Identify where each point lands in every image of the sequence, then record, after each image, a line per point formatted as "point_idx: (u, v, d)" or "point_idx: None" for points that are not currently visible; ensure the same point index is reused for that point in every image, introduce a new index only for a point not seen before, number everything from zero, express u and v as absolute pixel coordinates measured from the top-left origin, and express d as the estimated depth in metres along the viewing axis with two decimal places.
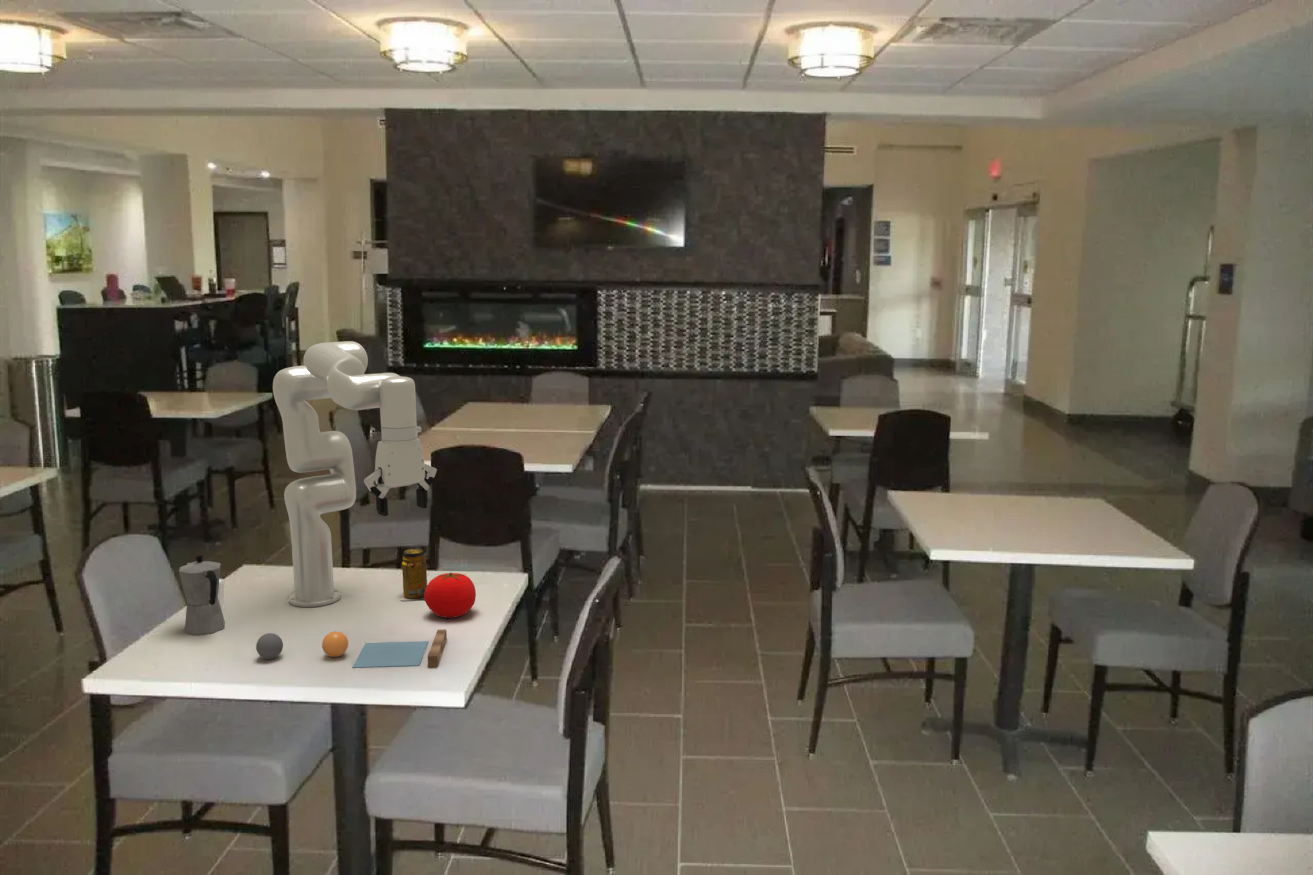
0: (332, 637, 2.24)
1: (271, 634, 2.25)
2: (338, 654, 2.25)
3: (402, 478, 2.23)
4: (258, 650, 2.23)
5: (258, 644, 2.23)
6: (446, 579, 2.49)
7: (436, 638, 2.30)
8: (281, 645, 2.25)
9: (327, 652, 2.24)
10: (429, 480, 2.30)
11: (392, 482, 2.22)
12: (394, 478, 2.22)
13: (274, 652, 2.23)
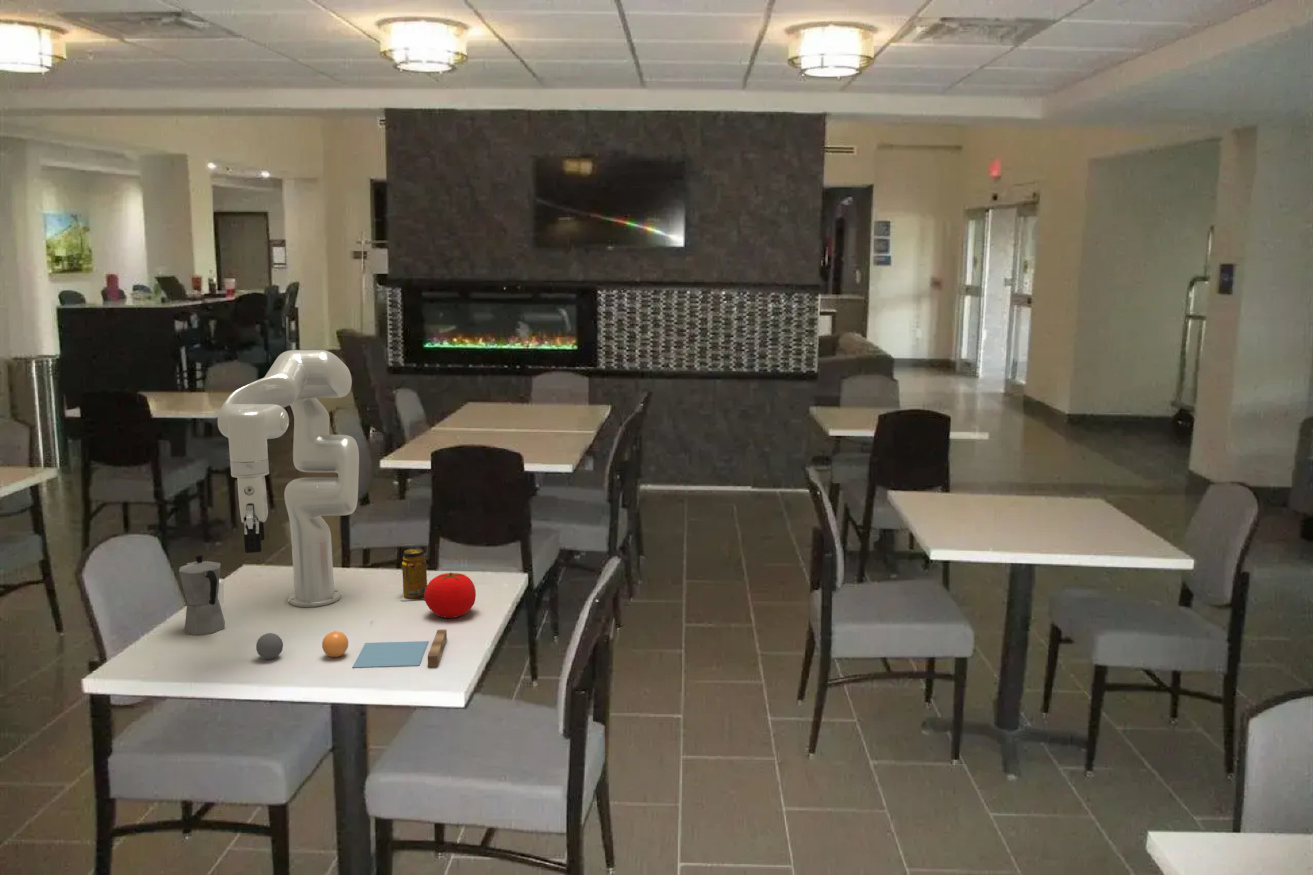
0: (332, 637, 2.24)
1: (271, 634, 2.25)
2: (338, 654, 2.25)
3: None
4: (258, 650, 2.23)
5: (258, 644, 2.23)
6: (446, 579, 2.49)
7: (436, 638, 2.30)
8: (281, 645, 2.25)
9: (327, 652, 2.24)
10: None
11: None
12: None
13: (274, 652, 2.23)
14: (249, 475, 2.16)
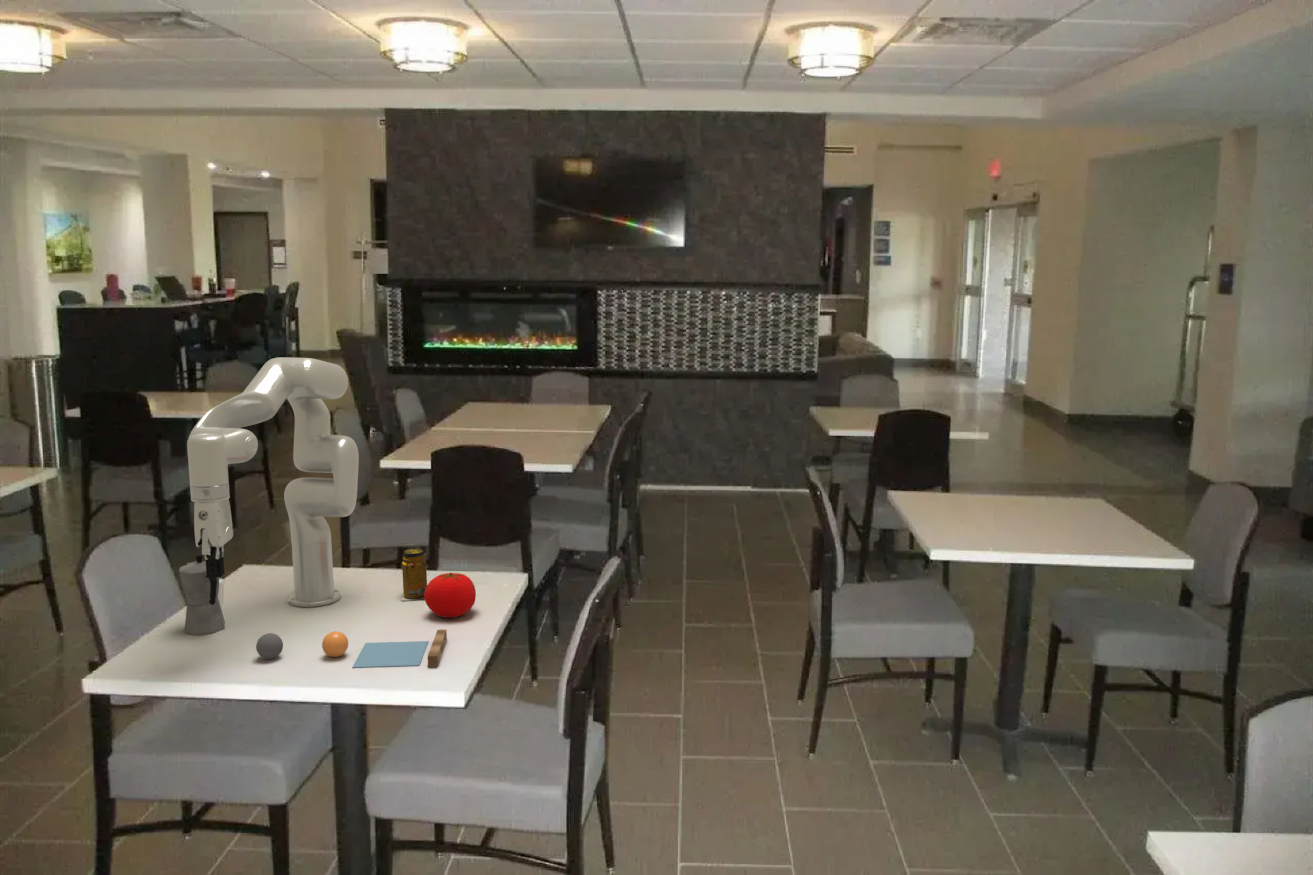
0: (332, 637, 2.24)
1: (271, 634, 2.25)
2: (338, 654, 2.25)
3: None
4: (258, 650, 2.23)
5: (258, 644, 2.23)
6: (446, 579, 2.49)
7: (436, 638, 2.30)
8: (281, 645, 2.25)
9: (327, 652, 2.24)
10: None
11: None
12: None
13: (274, 652, 2.23)
14: (204, 500, 2.15)
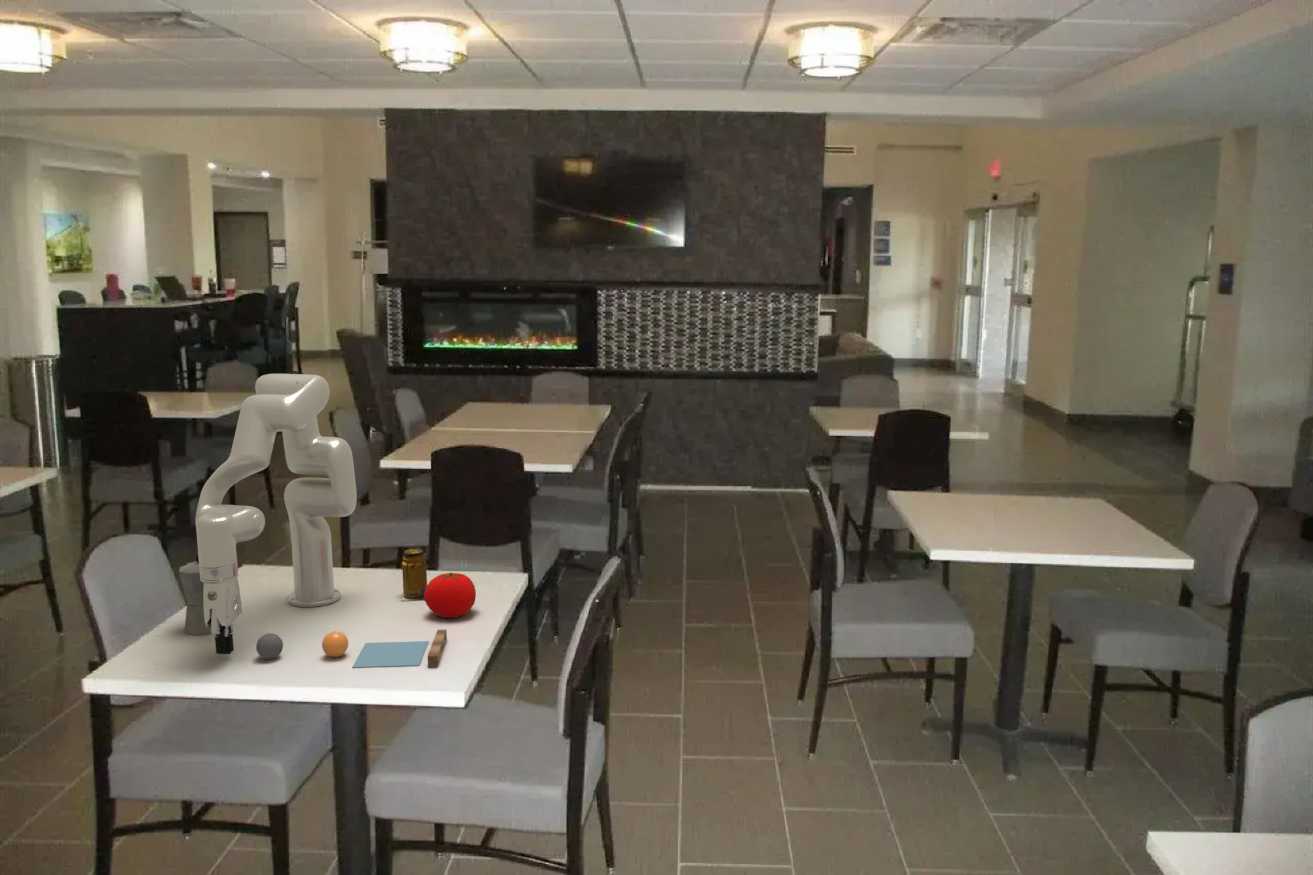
0: (332, 637, 2.24)
1: (271, 634, 2.25)
2: (338, 654, 2.25)
3: None
4: (258, 650, 2.23)
5: (258, 644, 2.23)
6: (446, 579, 2.49)
7: (436, 638, 2.30)
8: (281, 645, 2.25)
9: (327, 652, 2.24)
10: None
11: None
12: None
13: (274, 652, 2.23)
14: (213, 580, 2.18)
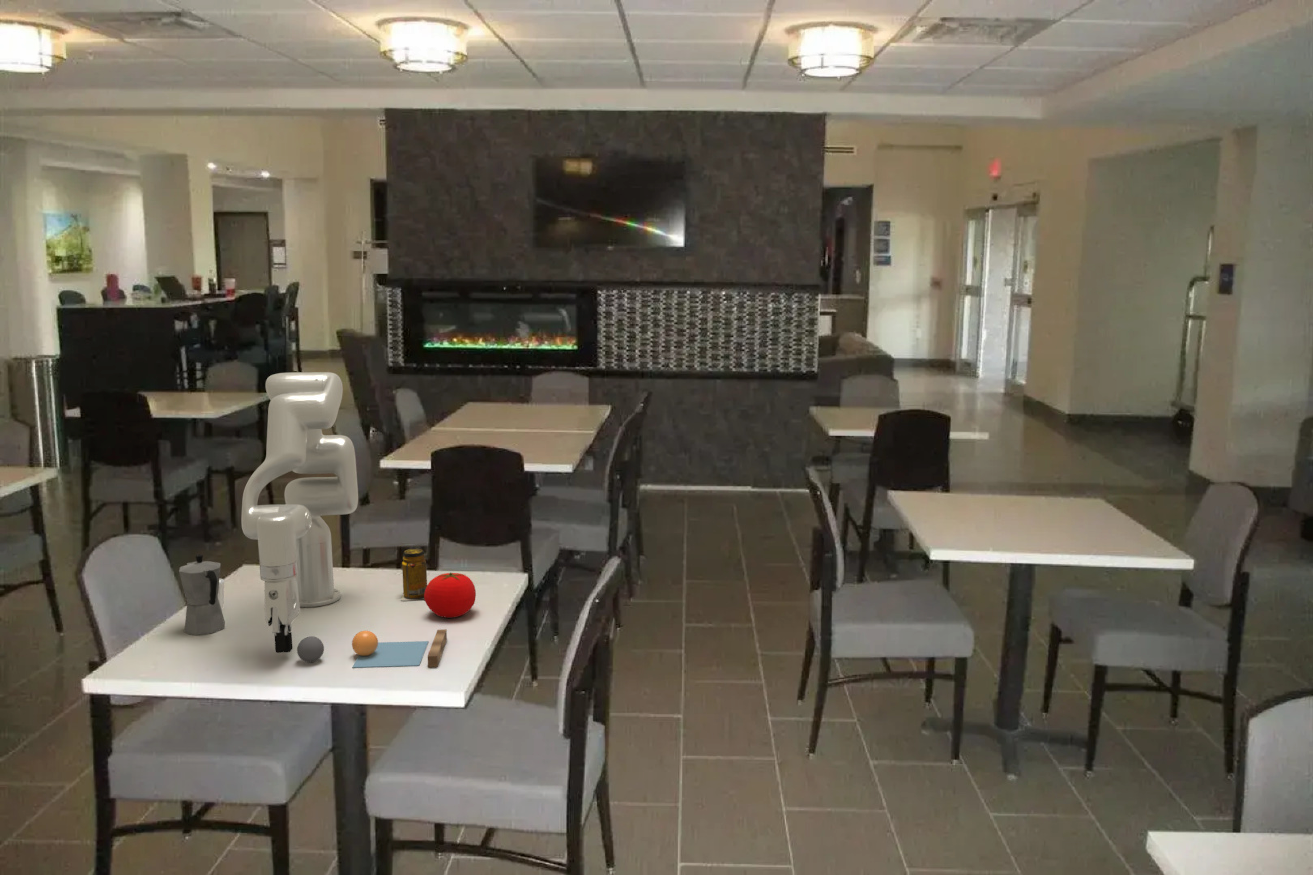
0: (371, 652, 2.25)
1: None
2: (354, 645, 2.24)
3: None
4: (313, 657, 2.21)
5: (315, 660, 2.22)
6: (446, 579, 2.49)
7: (436, 638, 2.30)
8: None
9: (362, 640, 2.24)
10: None
11: None
12: None
13: (298, 653, 2.21)
14: (274, 579, 2.19)
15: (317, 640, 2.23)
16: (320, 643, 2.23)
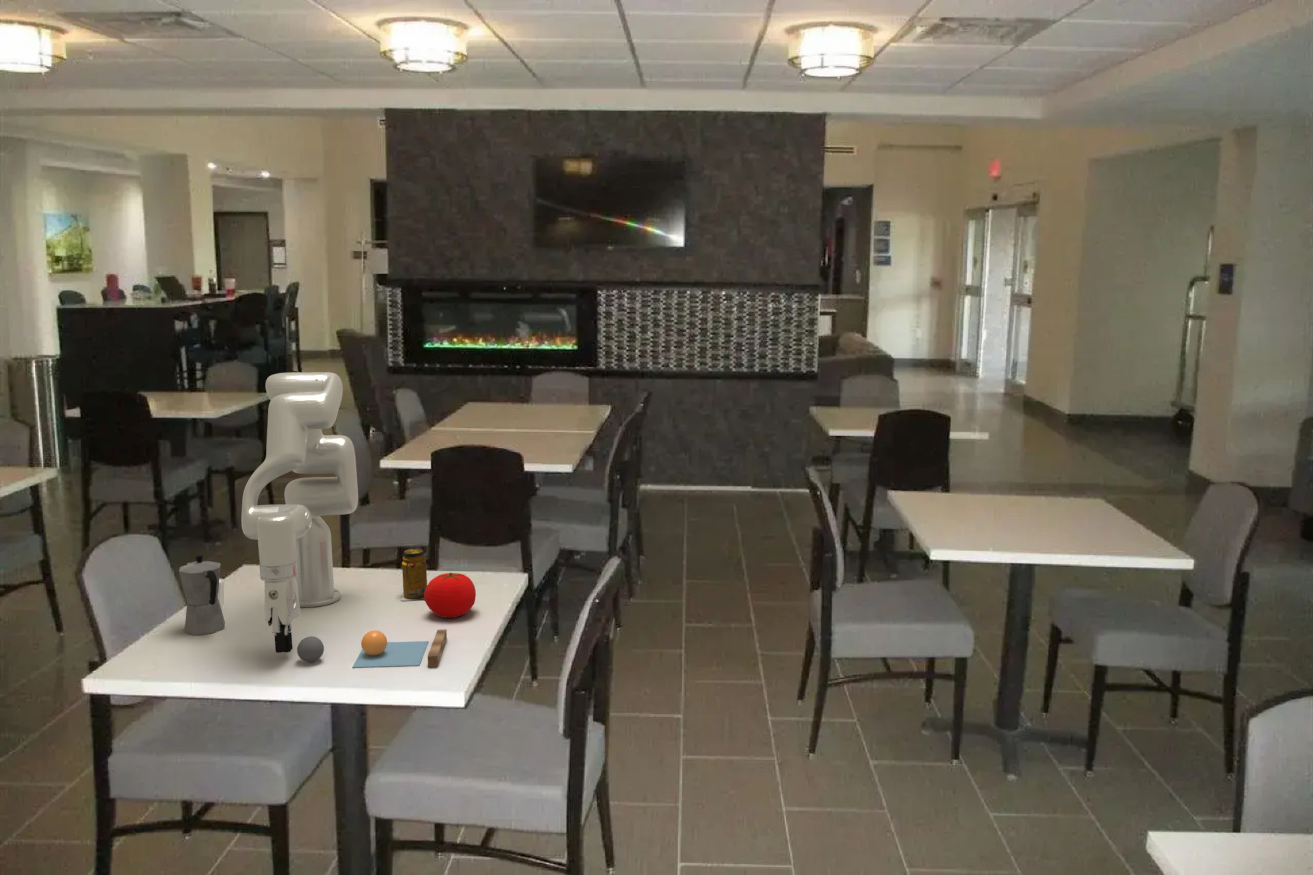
0: (374, 655, 2.25)
1: None
2: (366, 639, 2.24)
3: None
4: (313, 657, 2.21)
5: (315, 660, 2.22)
6: (446, 579, 2.49)
7: (436, 638, 2.30)
8: None
9: (376, 641, 2.24)
10: None
11: None
12: None
13: (298, 653, 2.21)
14: (274, 579, 2.19)
15: (317, 640, 2.23)
16: (320, 643, 2.23)
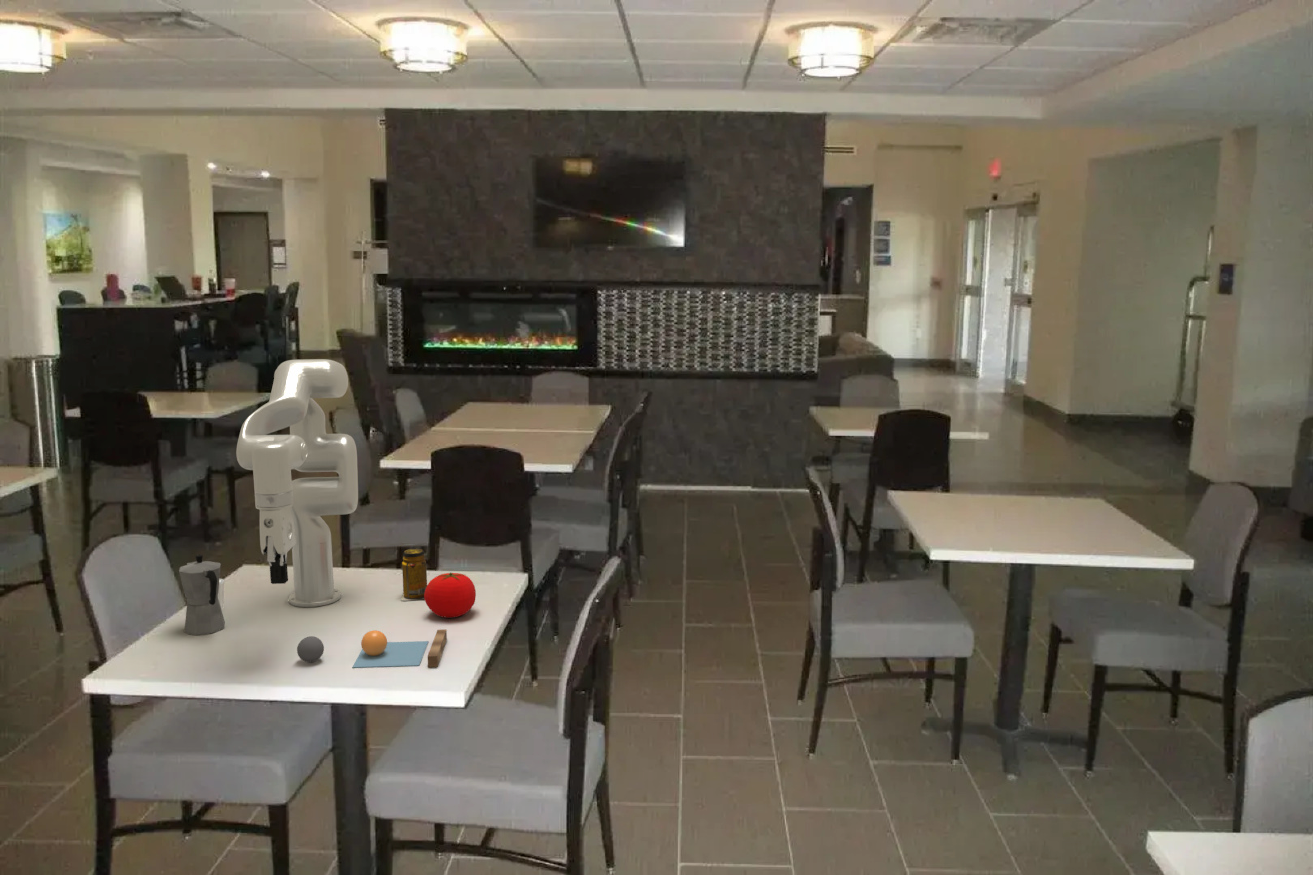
0: (374, 655, 2.25)
1: None
2: (366, 639, 2.24)
3: None
4: (313, 657, 2.21)
5: (315, 660, 2.22)
6: (446, 579, 2.49)
7: (436, 638, 2.30)
8: None
9: (376, 641, 2.24)
10: None
11: None
12: None
13: (298, 653, 2.21)
14: (270, 507, 2.16)
15: (317, 640, 2.23)
16: (320, 643, 2.23)
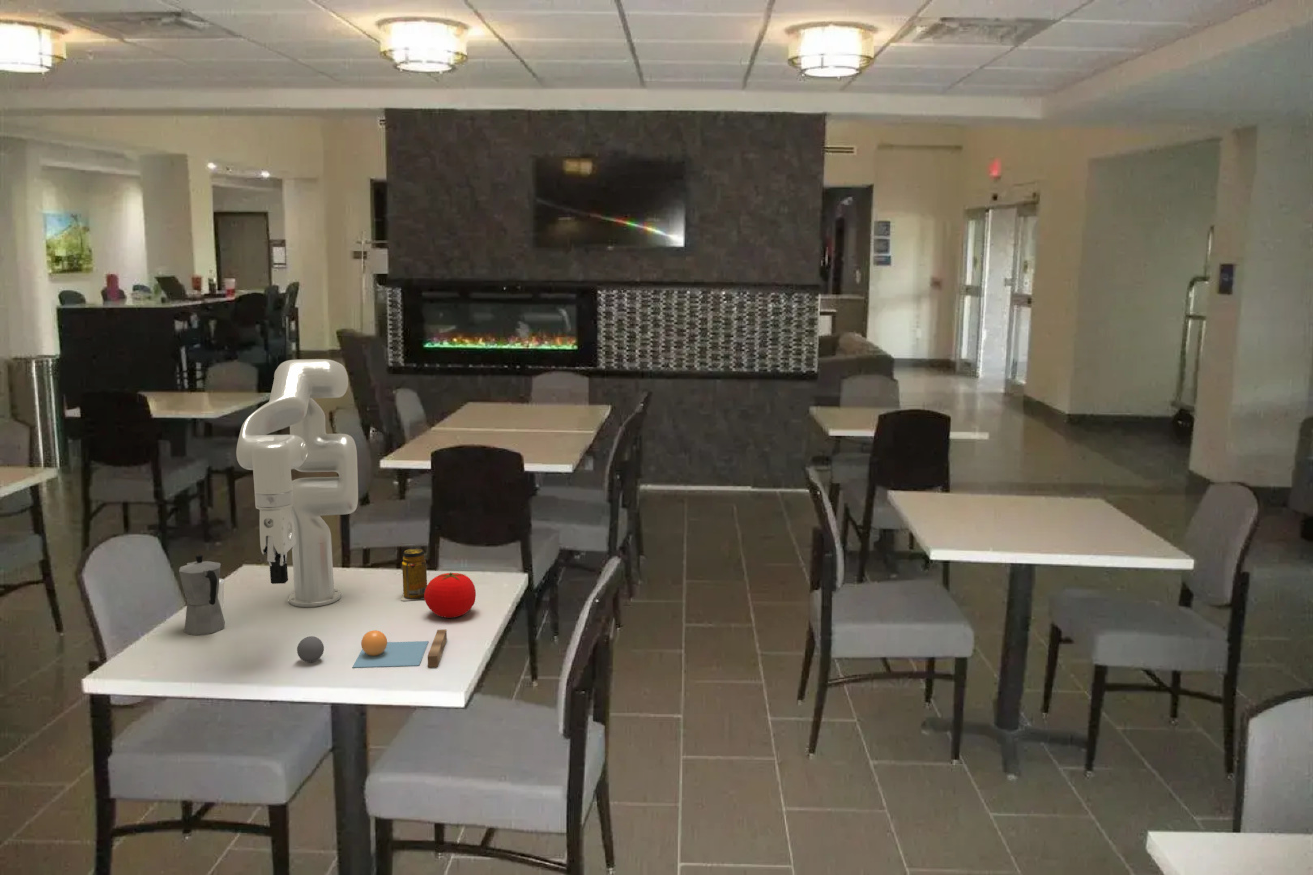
0: (374, 655, 2.25)
1: None
2: (366, 639, 2.24)
3: None
4: (313, 657, 2.21)
5: (315, 660, 2.22)
6: (446, 579, 2.49)
7: (436, 638, 2.30)
8: None
9: (376, 641, 2.24)
10: None
11: None
12: None
13: (298, 653, 2.21)
14: (270, 507, 2.16)
15: (317, 640, 2.23)
16: (320, 643, 2.23)
